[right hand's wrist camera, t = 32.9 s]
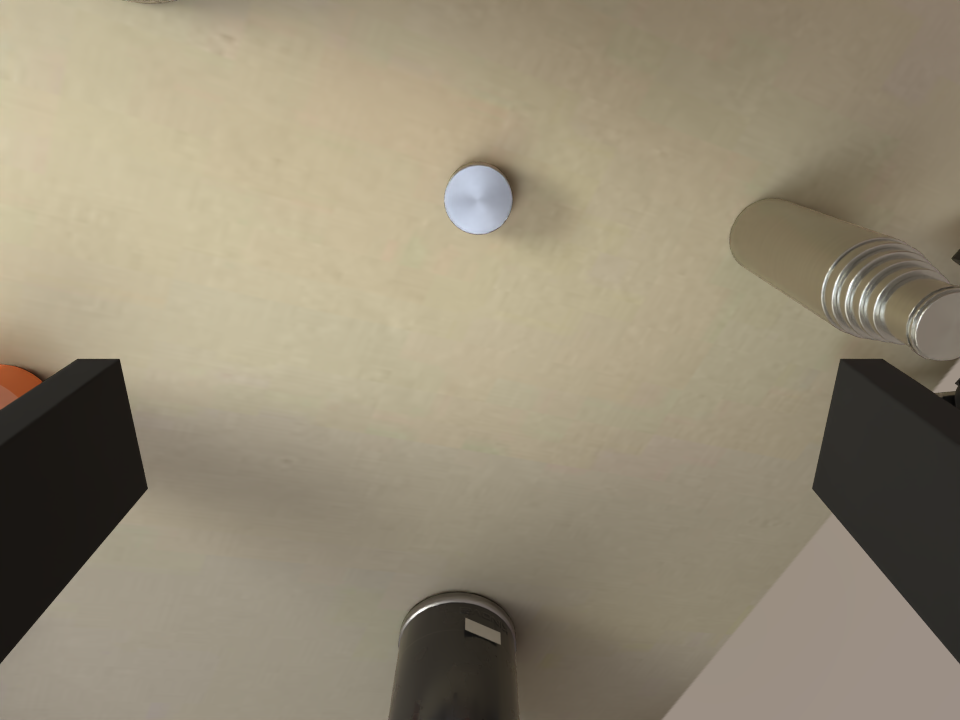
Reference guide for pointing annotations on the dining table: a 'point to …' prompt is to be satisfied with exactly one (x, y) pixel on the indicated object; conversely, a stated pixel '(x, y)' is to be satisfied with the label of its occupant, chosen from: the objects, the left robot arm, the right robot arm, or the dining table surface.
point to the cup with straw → (15, 383)
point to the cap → (478, 198)
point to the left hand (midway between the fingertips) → (910, 318)
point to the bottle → (850, 276)
